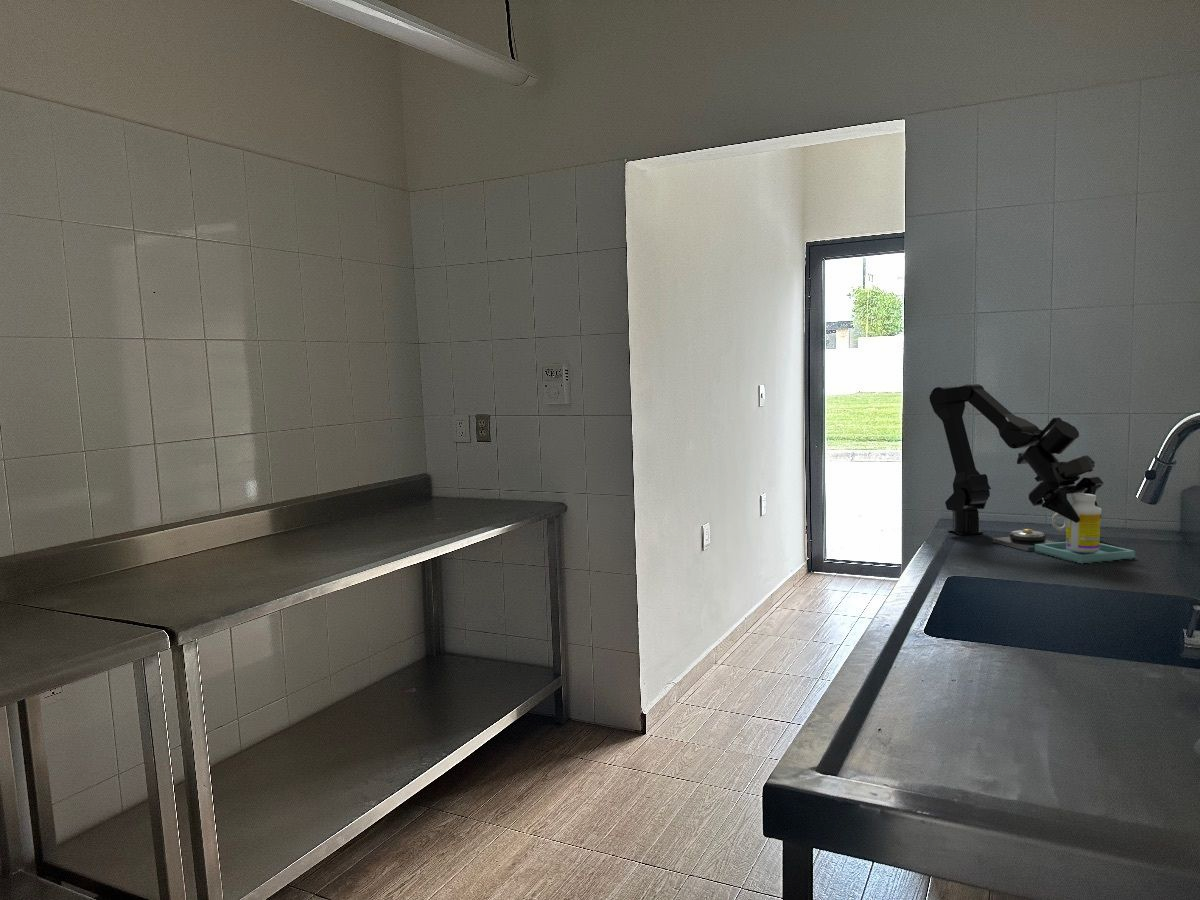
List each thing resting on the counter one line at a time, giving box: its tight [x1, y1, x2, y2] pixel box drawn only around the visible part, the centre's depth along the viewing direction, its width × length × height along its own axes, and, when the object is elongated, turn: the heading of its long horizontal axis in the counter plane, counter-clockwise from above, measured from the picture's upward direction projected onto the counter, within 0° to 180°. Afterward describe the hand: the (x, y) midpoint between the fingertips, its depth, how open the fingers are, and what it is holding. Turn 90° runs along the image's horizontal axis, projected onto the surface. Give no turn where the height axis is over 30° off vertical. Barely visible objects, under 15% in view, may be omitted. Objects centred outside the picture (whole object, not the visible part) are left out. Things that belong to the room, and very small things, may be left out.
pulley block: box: [992, 528, 1056, 552], centre depth 206 cm, size 12×10×4 cm
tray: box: [1034, 540, 1136, 565], centre depth 193 cm, size 14×14×2 cm
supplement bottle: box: [1065, 493, 1102, 553], centre depth 193 cm, size 7×7×13 cm
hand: (1089, 520), depth 192 cm, fingers open, 7 cm apart
